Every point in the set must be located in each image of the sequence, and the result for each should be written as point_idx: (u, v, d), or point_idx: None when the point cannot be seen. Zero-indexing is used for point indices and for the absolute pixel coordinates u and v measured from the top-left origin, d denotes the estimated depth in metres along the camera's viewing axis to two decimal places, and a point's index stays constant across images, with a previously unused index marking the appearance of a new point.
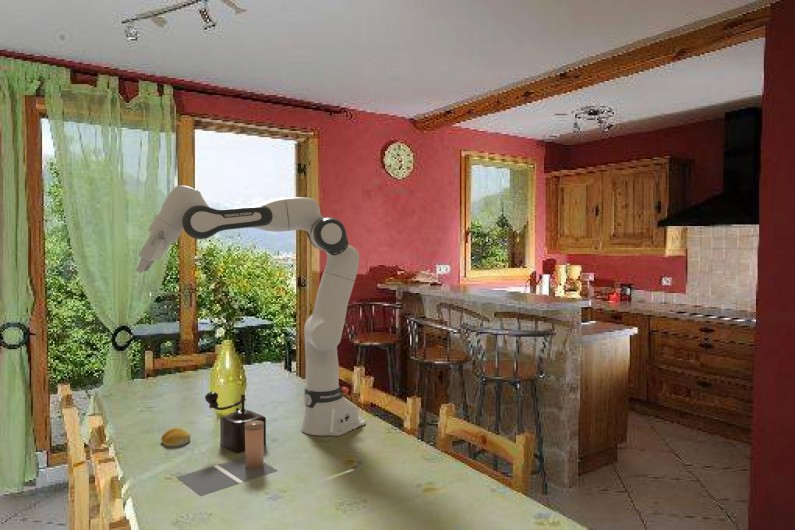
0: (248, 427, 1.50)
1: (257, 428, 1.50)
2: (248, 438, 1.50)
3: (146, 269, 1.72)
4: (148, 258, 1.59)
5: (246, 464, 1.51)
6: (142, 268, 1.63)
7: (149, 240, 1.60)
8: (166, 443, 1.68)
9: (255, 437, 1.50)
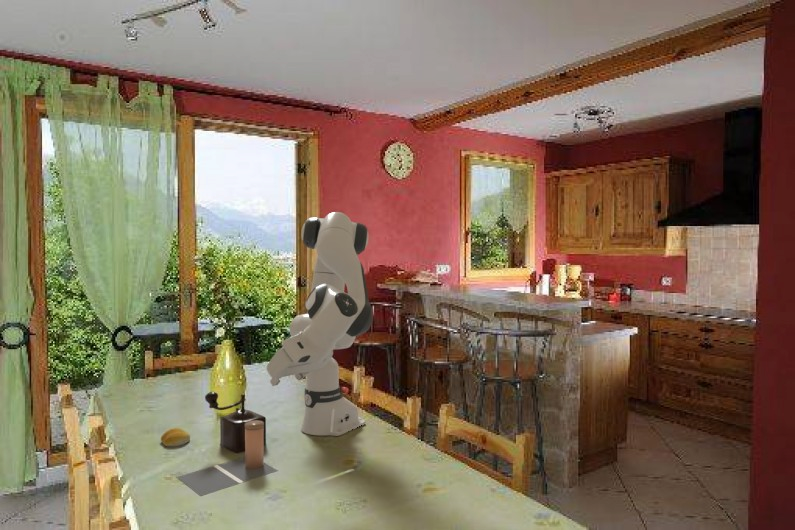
0: (248, 427, 1.50)
1: (257, 428, 1.50)
2: (248, 438, 1.50)
3: None
4: None
5: (246, 464, 1.51)
6: None
7: None
8: (166, 443, 1.68)
9: (255, 437, 1.50)
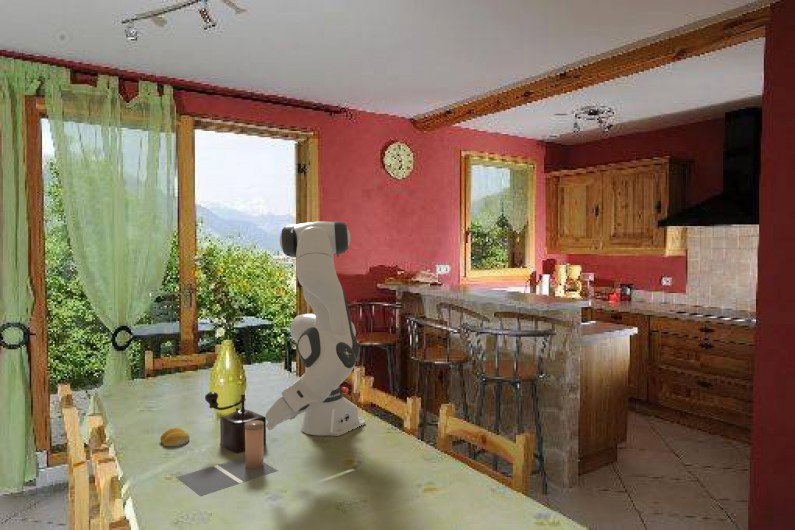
0: (248, 427, 1.50)
1: (257, 428, 1.50)
2: (248, 438, 1.50)
3: None
4: None
5: (246, 464, 1.51)
6: None
7: None
8: (165, 443, 1.68)
9: (255, 437, 1.50)
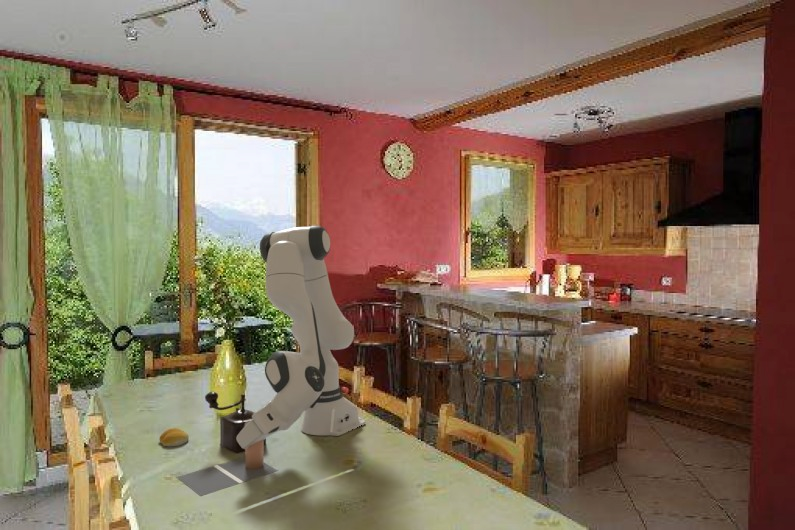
0: None
1: None
2: None
3: None
4: None
5: (246, 464, 1.51)
6: None
7: None
8: (164, 443, 1.68)
9: None
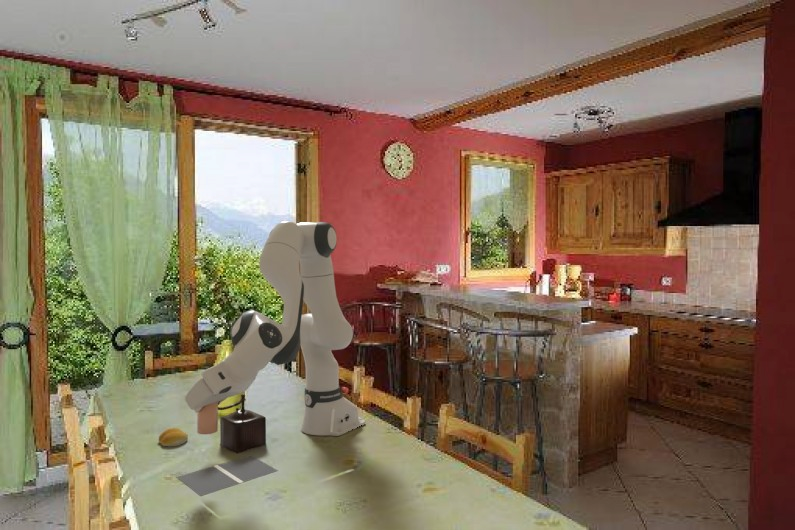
0: None
1: None
2: None
3: None
4: None
5: (198, 429, 1.41)
6: None
7: None
8: (163, 443, 1.68)
9: None
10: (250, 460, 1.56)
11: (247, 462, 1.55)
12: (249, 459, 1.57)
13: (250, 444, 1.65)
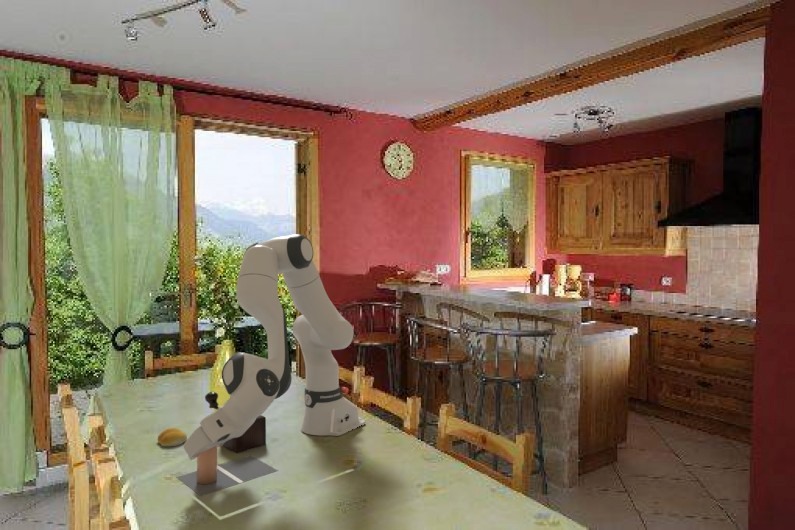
0: None
1: None
2: None
3: None
4: None
5: (197, 478, 1.41)
6: None
7: None
8: (162, 443, 1.68)
9: None
10: (250, 460, 1.56)
11: (247, 462, 1.55)
12: (249, 459, 1.57)
13: (250, 444, 1.65)
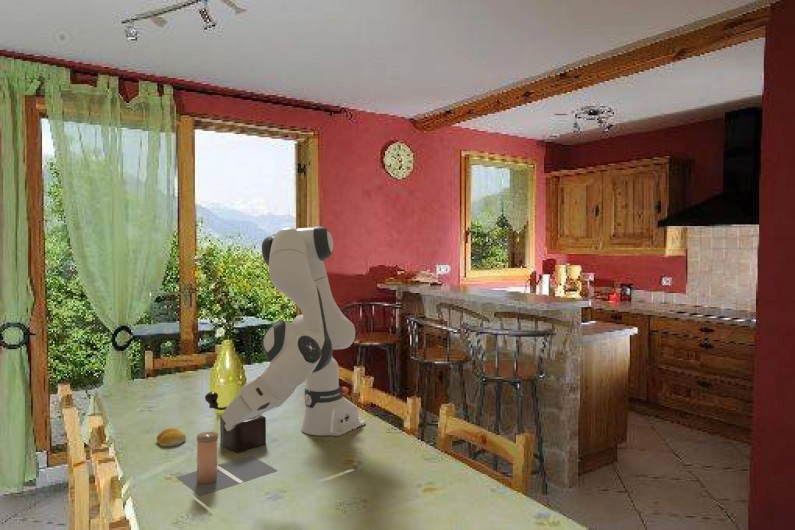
0: (200, 439, 1.40)
1: (209, 440, 1.41)
2: (199, 451, 1.41)
3: None
4: None
5: (197, 479, 1.41)
6: None
7: None
8: (161, 443, 1.68)
9: (207, 450, 1.41)
10: (250, 460, 1.56)
11: (247, 462, 1.55)
12: (249, 459, 1.57)
13: (250, 444, 1.65)
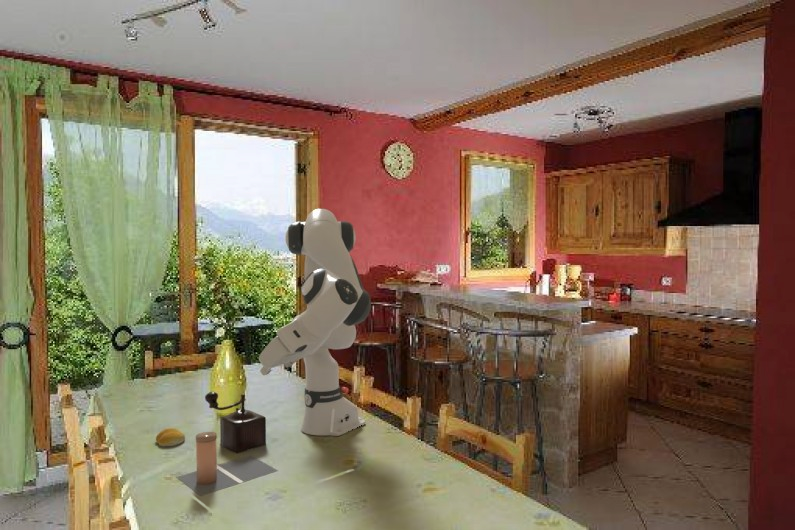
0: (199, 439, 1.40)
1: (208, 440, 1.41)
2: (199, 451, 1.41)
3: None
4: None
5: (197, 479, 1.41)
6: None
7: None
8: (160, 443, 1.68)
9: (206, 450, 1.41)
10: (250, 460, 1.56)
11: (247, 462, 1.55)
12: (249, 459, 1.57)
13: (250, 444, 1.65)
